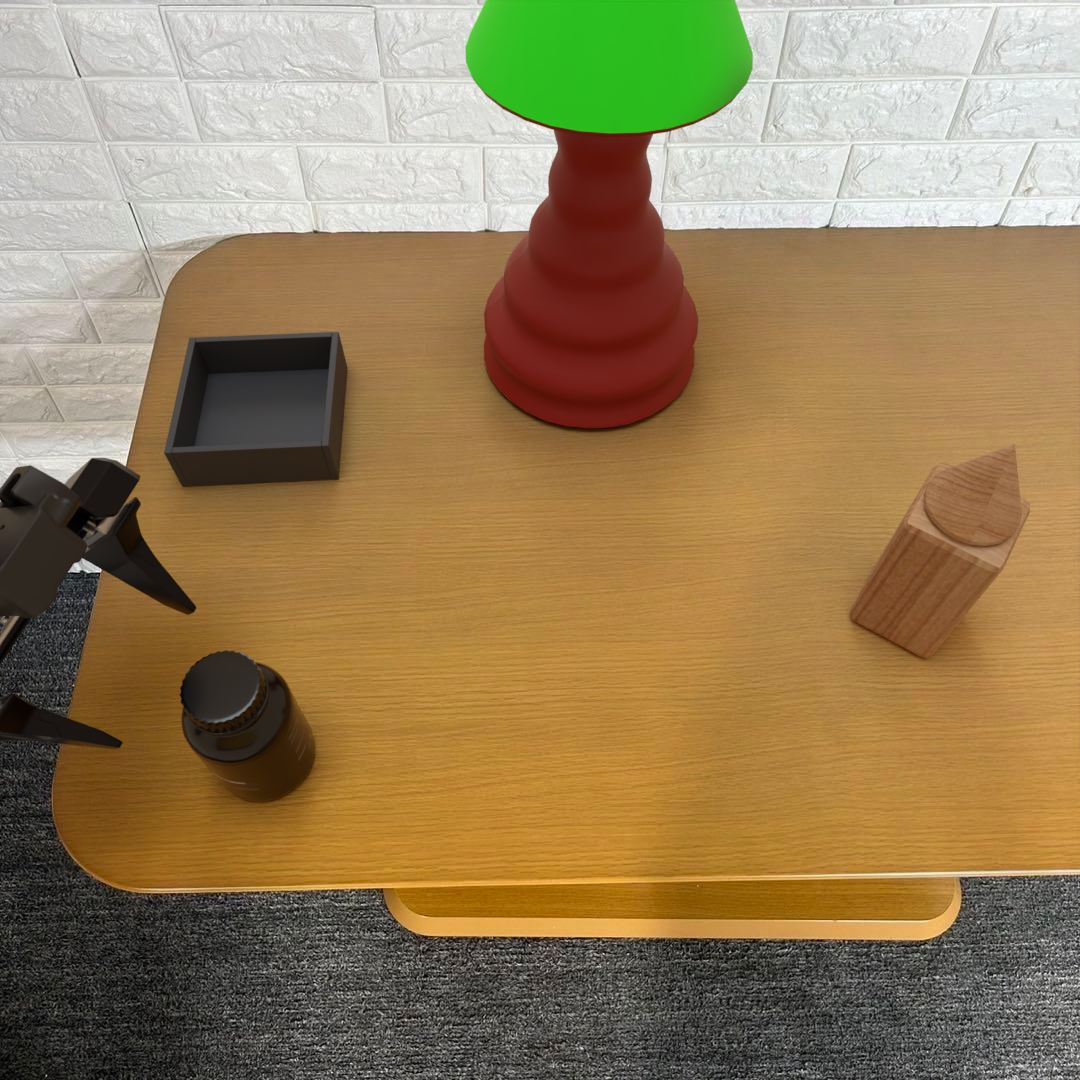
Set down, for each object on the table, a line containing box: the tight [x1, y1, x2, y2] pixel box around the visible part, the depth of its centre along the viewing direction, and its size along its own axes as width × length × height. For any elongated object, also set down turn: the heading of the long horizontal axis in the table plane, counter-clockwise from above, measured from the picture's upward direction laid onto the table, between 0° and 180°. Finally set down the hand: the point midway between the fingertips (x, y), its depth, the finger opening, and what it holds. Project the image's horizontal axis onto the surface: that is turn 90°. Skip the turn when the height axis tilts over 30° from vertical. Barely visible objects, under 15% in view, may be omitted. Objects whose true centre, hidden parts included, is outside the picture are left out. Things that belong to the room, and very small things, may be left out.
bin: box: [163, 331, 348, 487], centre depth 78 cm, size 13×13×4 cm
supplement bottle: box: [179, 649, 316, 803], centre depth 58 cm, size 7×7×12 cm
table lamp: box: [464, 0, 754, 429], centre depth 66 cm, size 20×20×45 cm
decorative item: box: [849, 443, 1031, 659], centre depth 61 cm, size 7×7×20 cm
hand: (157, 675), depth 54 cm, fingers open, 9 cm apart
